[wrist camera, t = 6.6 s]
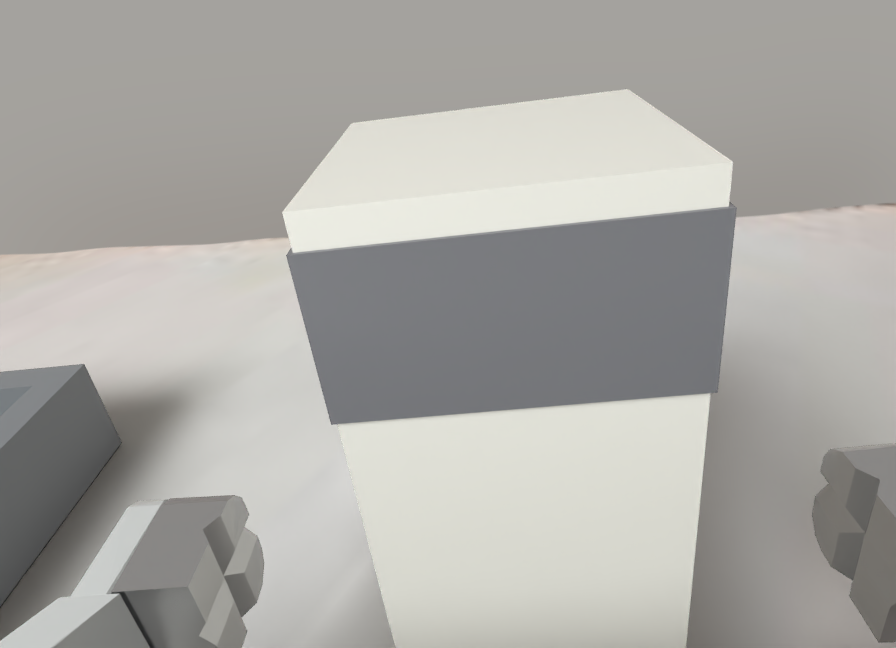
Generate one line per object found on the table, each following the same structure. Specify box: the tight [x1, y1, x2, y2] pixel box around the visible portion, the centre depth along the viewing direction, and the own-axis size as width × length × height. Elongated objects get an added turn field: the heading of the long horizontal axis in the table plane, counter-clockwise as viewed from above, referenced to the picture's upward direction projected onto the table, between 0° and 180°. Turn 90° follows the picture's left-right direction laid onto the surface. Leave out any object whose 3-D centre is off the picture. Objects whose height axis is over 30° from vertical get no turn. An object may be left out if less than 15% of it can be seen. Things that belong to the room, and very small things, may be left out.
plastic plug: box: [282, 89, 737, 648], centre depth 10 cm, size 4×4×10 cm
